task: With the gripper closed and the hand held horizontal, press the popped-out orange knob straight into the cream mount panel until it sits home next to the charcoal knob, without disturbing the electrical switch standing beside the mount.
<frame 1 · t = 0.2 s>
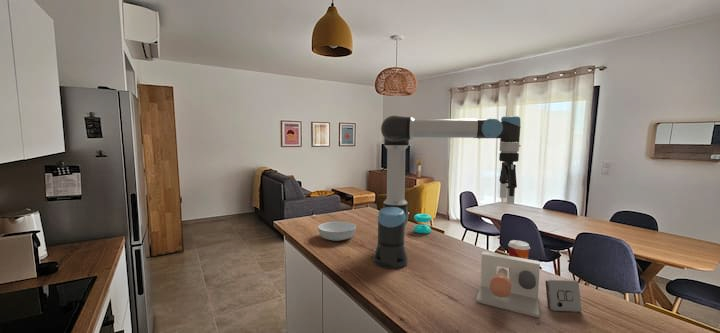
hand: (506, 200, 131), 28 cm above the counter, tool pointing down, fingers open, 13 cm apart
paper cup: (517, 277, 118), on the counter
serving bowl: (336, 238, 164), on the counter
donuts: (422, 232, 177), on the counter
mount: (507, 294, 105), on the counter
knob: (501, 279, 100), point 8 cm above the counter, slide at 8.0 cm
electrical switch: (560, 307, 97), on the counter
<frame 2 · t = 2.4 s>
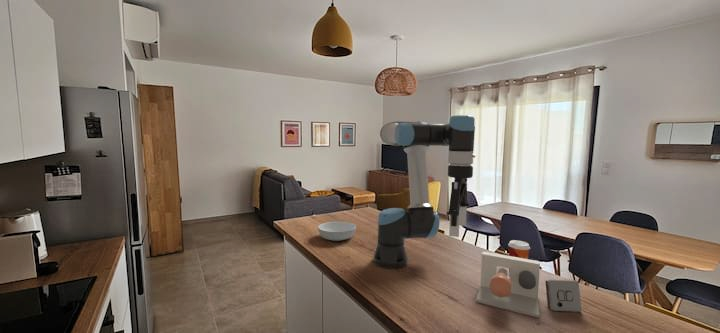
hand: (457, 230, 96), 25 cm above the counter, tool pointing down, fingers open, 13 cm apart
nothing on the counter moved.
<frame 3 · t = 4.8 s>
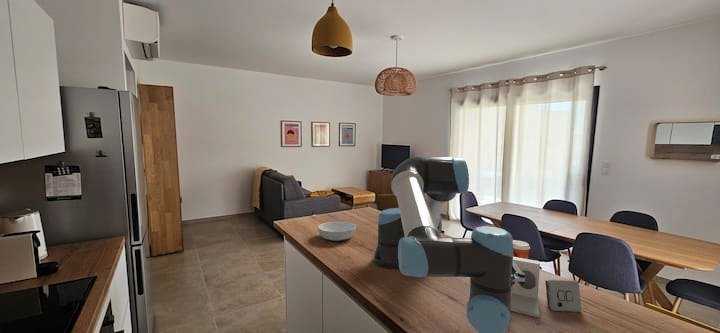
hand: (500, 253, 89), 20 cm above the counter, tool horizontal, fingers closed
nothing on the counter moved.
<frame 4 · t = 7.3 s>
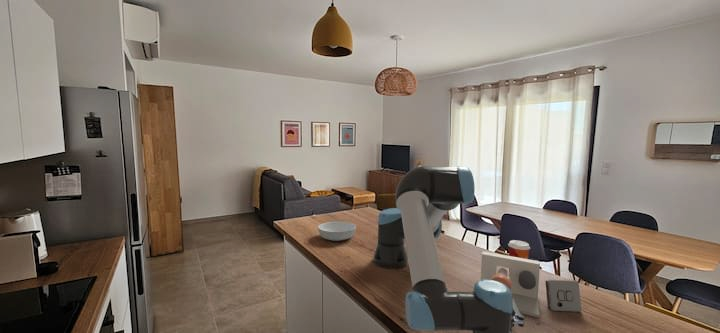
hand: (501, 289, 94), 7 cm above the counter, tool horizontal, fingers closed
knob: (501, 279, 100), point 8 cm above the counter, slide at 7.8 cm, touching gripper
everything else where it was.
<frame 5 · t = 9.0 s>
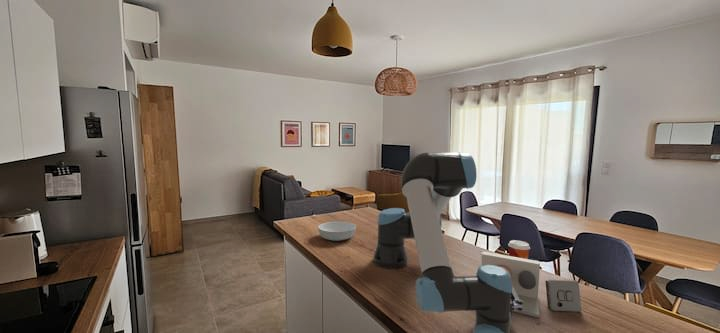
hand: (502, 278, 101), 7 cm above the counter, tool horizontal, fingers closed
knob: (503, 270, 107), point 8 cm above the counter, slide at -0.2 cm, touching gripper
everything else where it was.
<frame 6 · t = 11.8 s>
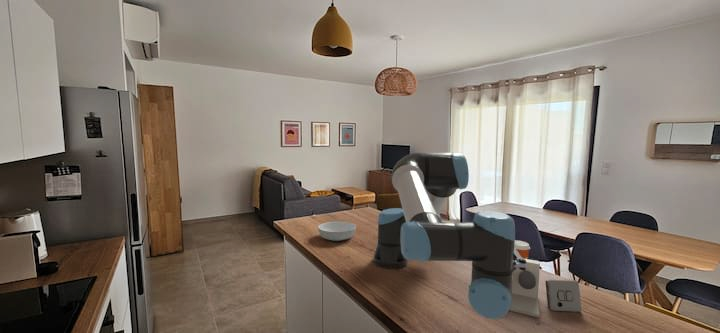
hand: (501, 241, 90), 24 cm above the counter, tool horizontal, fingers closed
knob: (503, 270, 107), point 8 cm above the counter, slide at 0.0 cm
everything else where it was.
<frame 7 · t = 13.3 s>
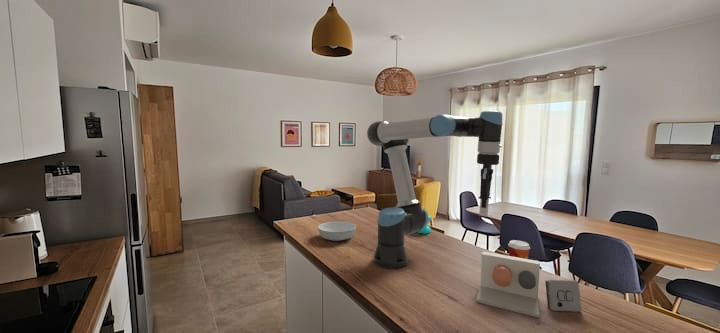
hand: (483, 215, 113), 26 cm above the counter, tool pointing down, fingers closed
nothing on the counter moved.
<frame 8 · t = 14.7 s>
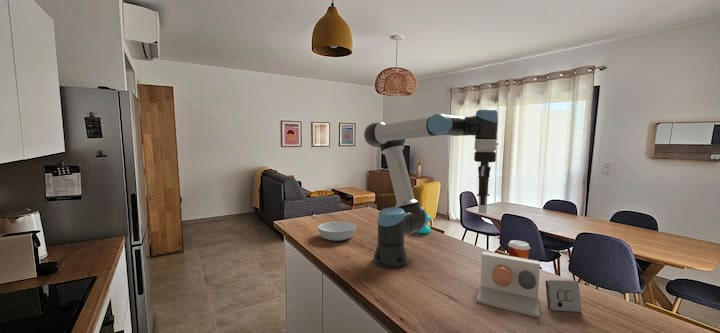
hand: (482, 212, 114), 26 cm above the counter, tool pointing down, fingers closed
nothing on the counter moved.
at the end: knob slide at 0.0 cm; electrical switch moved 0.3 cm from its start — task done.
